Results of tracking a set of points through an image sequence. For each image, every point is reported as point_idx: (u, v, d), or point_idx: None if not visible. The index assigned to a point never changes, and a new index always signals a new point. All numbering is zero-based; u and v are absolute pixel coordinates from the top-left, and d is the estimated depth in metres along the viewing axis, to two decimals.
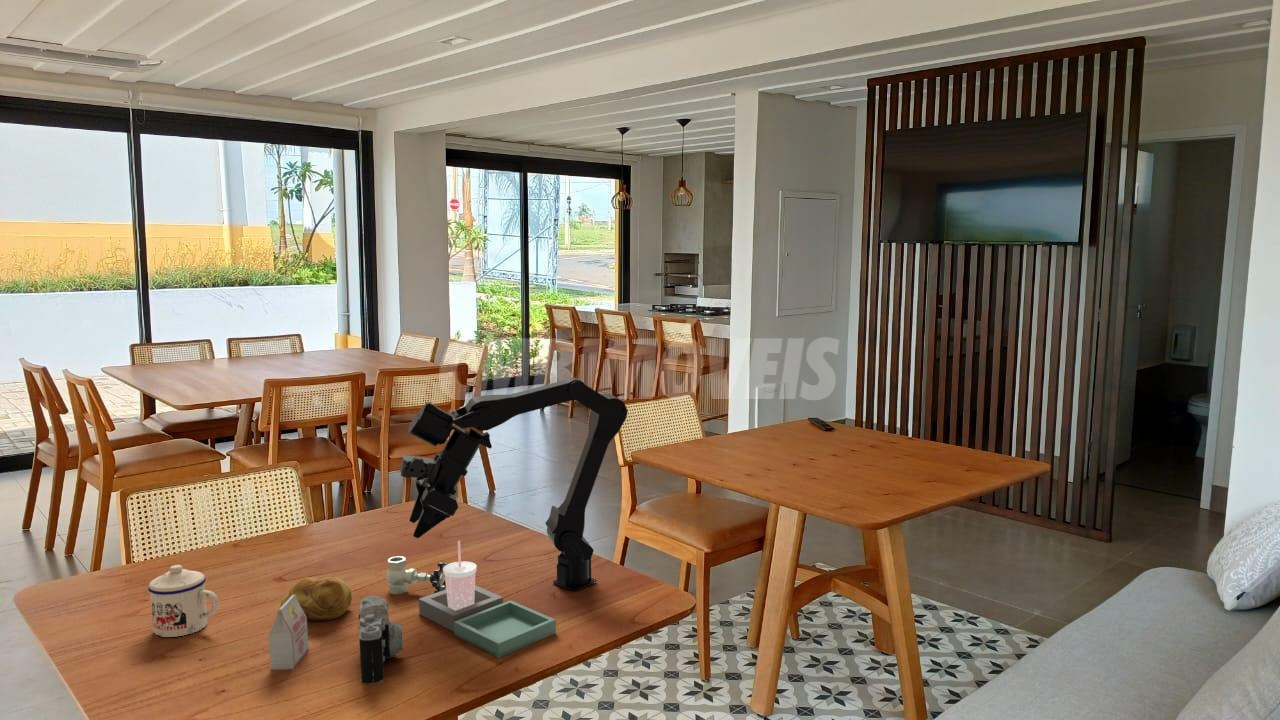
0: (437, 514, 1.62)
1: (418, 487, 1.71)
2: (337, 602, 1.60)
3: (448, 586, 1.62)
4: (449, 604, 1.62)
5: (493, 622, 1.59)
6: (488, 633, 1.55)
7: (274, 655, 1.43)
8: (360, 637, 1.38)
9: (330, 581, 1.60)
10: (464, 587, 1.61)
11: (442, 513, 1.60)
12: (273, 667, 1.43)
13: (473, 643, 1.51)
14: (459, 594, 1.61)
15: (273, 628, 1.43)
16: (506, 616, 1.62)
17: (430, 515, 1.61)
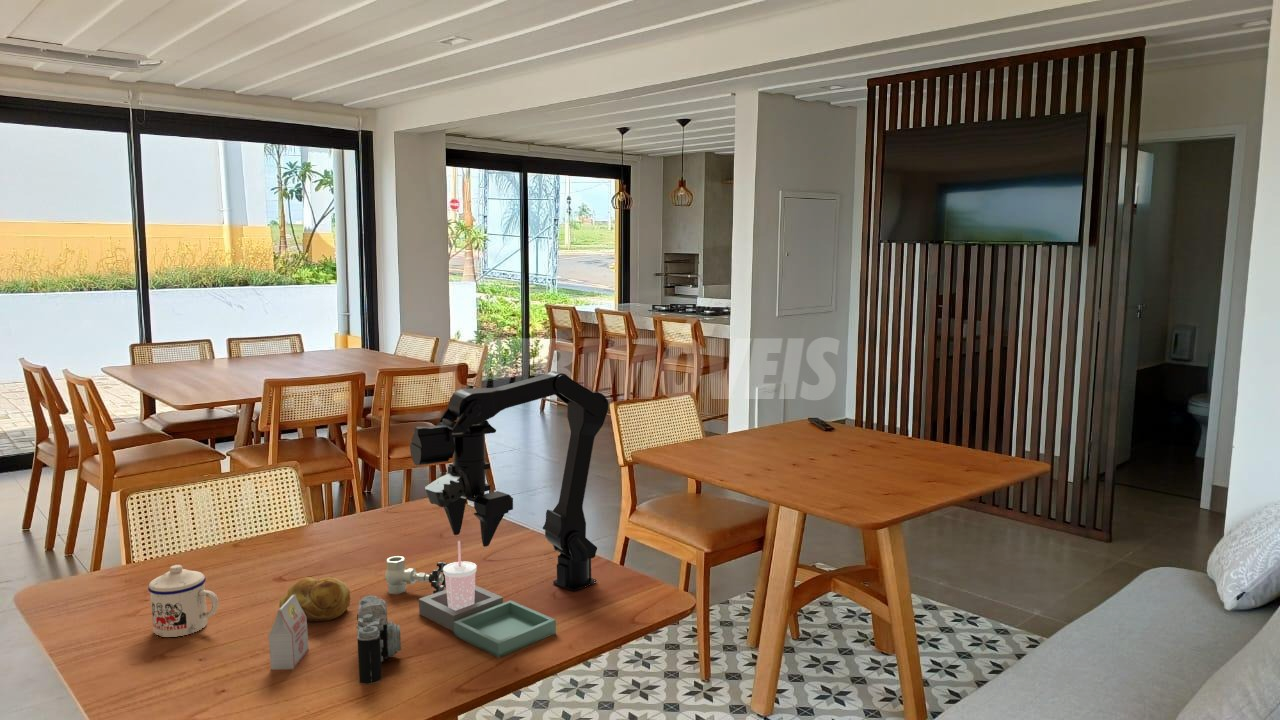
0: (495, 515, 1.61)
1: None
2: (335, 602, 1.60)
3: (448, 586, 1.62)
4: (449, 604, 1.62)
5: (493, 622, 1.59)
6: (488, 633, 1.55)
7: (274, 655, 1.43)
8: (358, 637, 1.38)
9: (328, 581, 1.60)
10: (464, 587, 1.61)
11: (502, 512, 1.59)
12: (273, 667, 1.43)
13: (473, 643, 1.51)
14: (459, 594, 1.61)
15: (273, 628, 1.43)
16: (506, 616, 1.62)
17: (490, 520, 1.60)
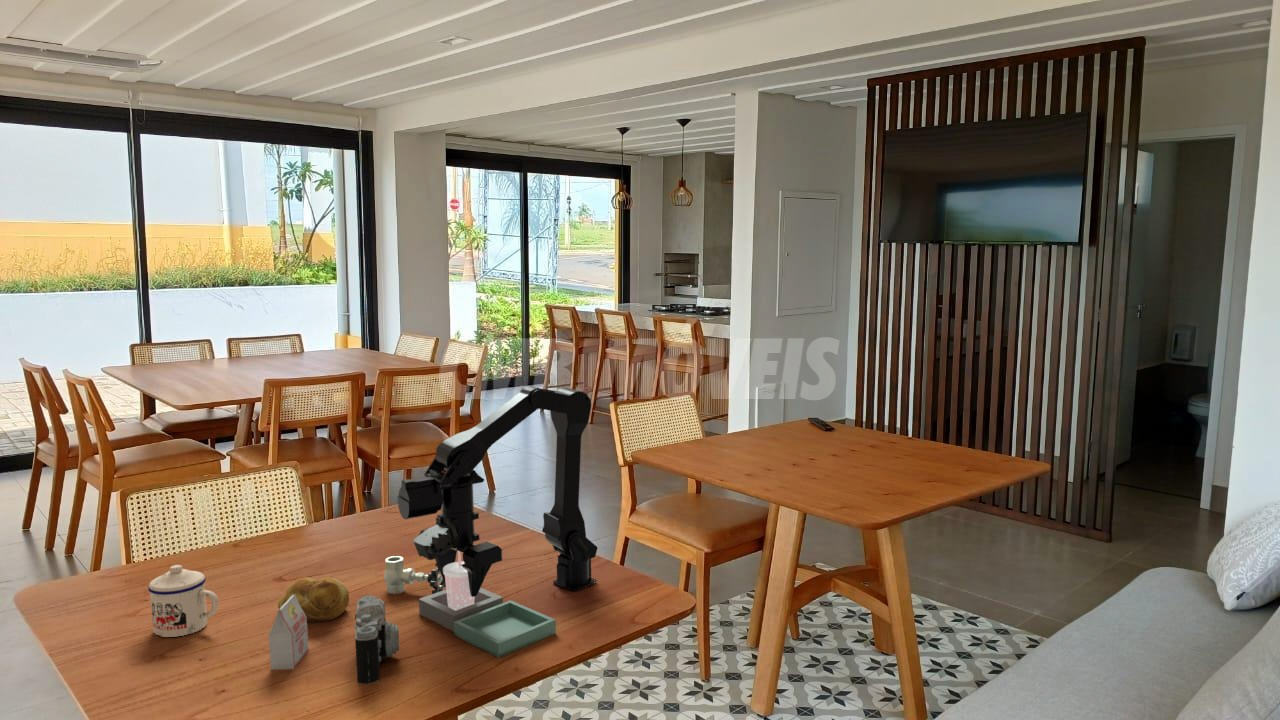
0: None
1: None
2: (333, 603, 1.60)
3: (448, 586, 1.62)
4: (449, 604, 1.62)
5: (493, 622, 1.59)
6: (488, 633, 1.55)
7: (274, 655, 1.43)
8: (356, 637, 1.38)
9: (326, 582, 1.60)
10: (464, 587, 1.61)
11: None
12: (273, 667, 1.43)
13: (473, 643, 1.51)
14: (459, 594, 1.61)
15: (273, 628, 1.43)
16: (506, 616, 1.62)
17: (477, 571, 1.60)
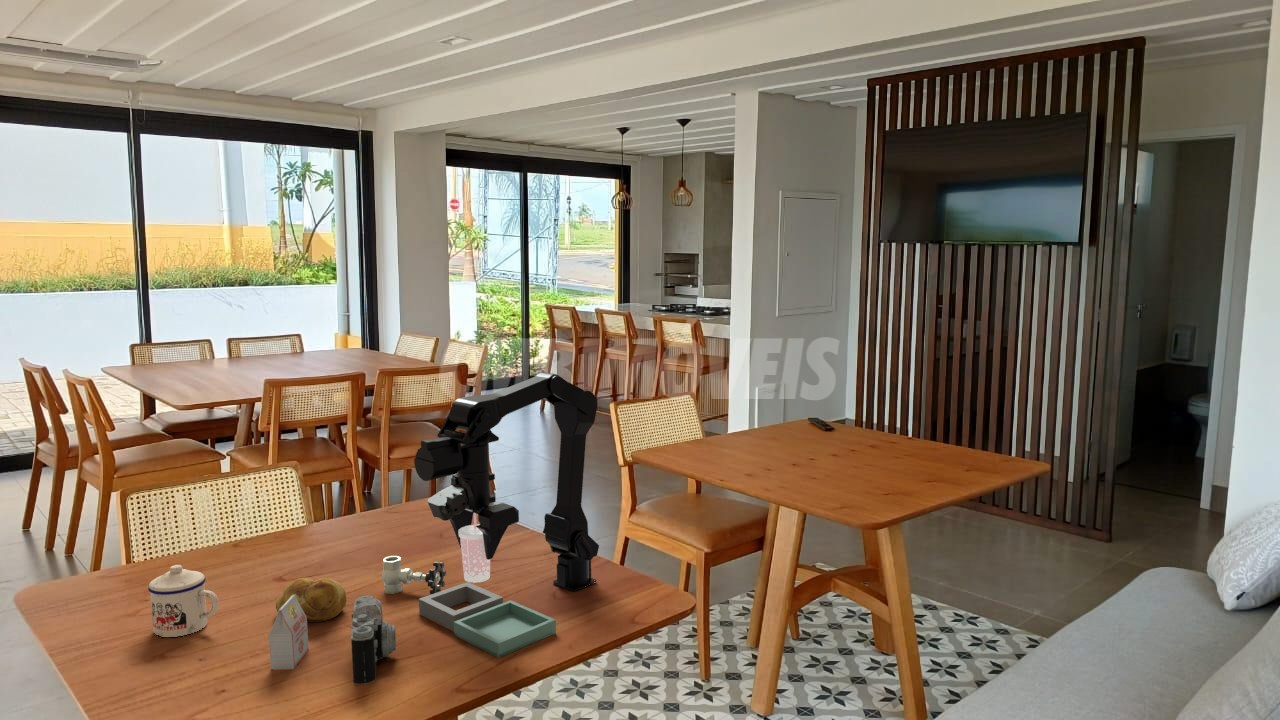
0: (498, 527, 1.55)
1: None
2: (329, 604, 1.59)
3: (465, 549, 1.57)
4: (466, 568, 1.57)
5: (493, 622, 1.59)
6: (488, 633, 1.55)
7: (274, 655, 1.43)
8: (352, 637, 1.38)
9: (323, 582, 1.60)
10: (482, 549, 1.57)
11: None
12: (273, 667, 1.43)
13: (473, 643, 1.51)
14: (477, 557, 1.56)
15: (273, 628, 1.43)
16: (506, 616, 1.62)
17: (493, 533, 1.55)
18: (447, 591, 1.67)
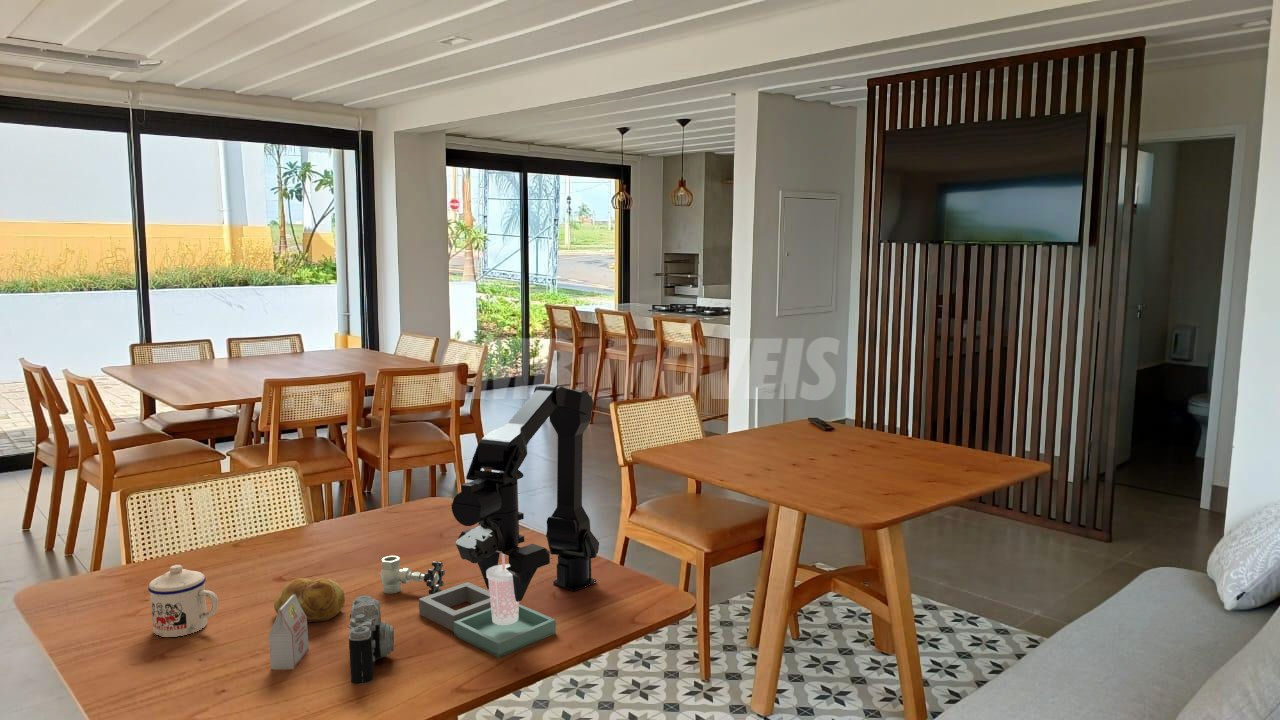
0: None
1: None
2: (327, 604, 1.59)
3: (493, 591, 1.52)
4: (494, 610, 1.53)
5: None
6: (488, 633, 1.55)
7: (274, 655, 1.43)
8: (349, 637, 1.38)
9: (320, 583, 1.59)
10: (511, 591, 1.52)
11: None
12: (273, 667, 1.43)
13: (473, 643, 1.51)
14: (506, 599, 1.52)
15: (273, 628, 1.43)
16: None
17: (523, 574, 1.51)
18: (447, 591, 1.67)
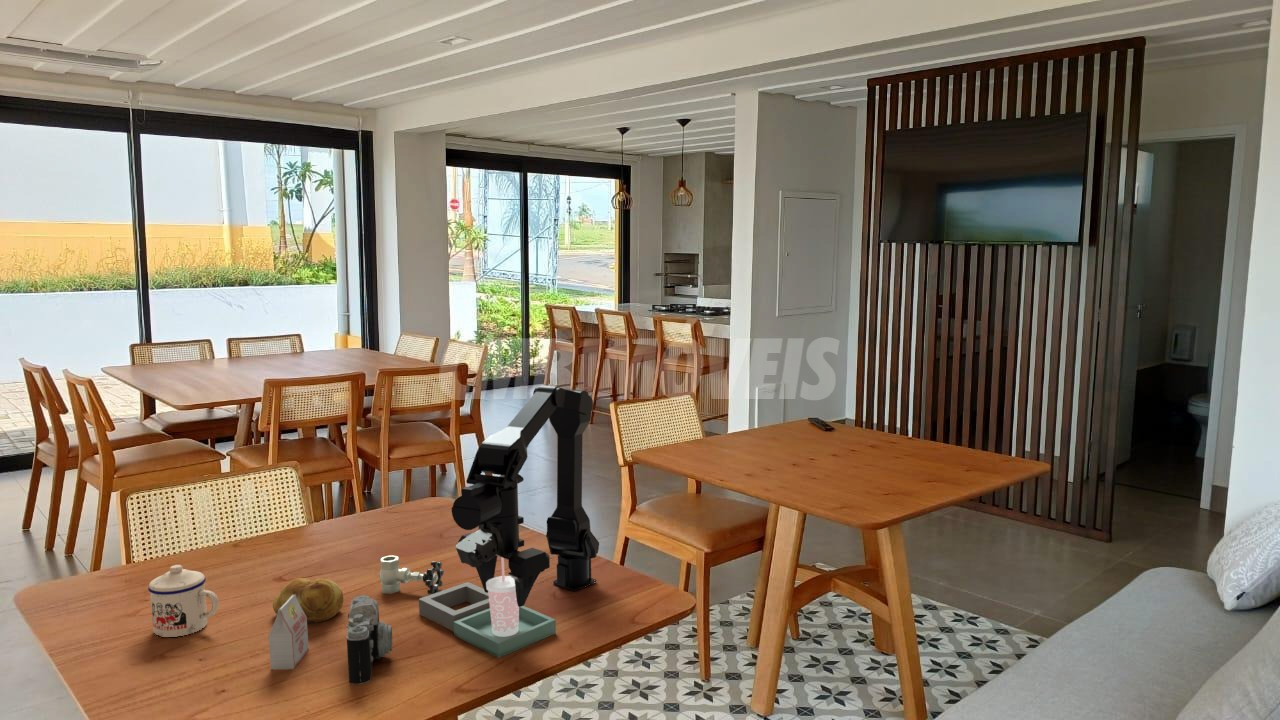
0: None
1: None
2: (325, 604, 1.59)
3: None
4: None
5: None
6: (488, 633, 1.55)
7: (274, 655, 1.43)
8: (347, 637, 1.38)
9: (319, 583, 1.59)
10: None
11: (538, 571, 1.49)
12: (273, 667, 1.43)
13: (473, 643, 1.51)
14: None
15: (273, 628, 1.43)
16: None
17: (525, 579, 1.50)
18: (447, 591, 1.67)
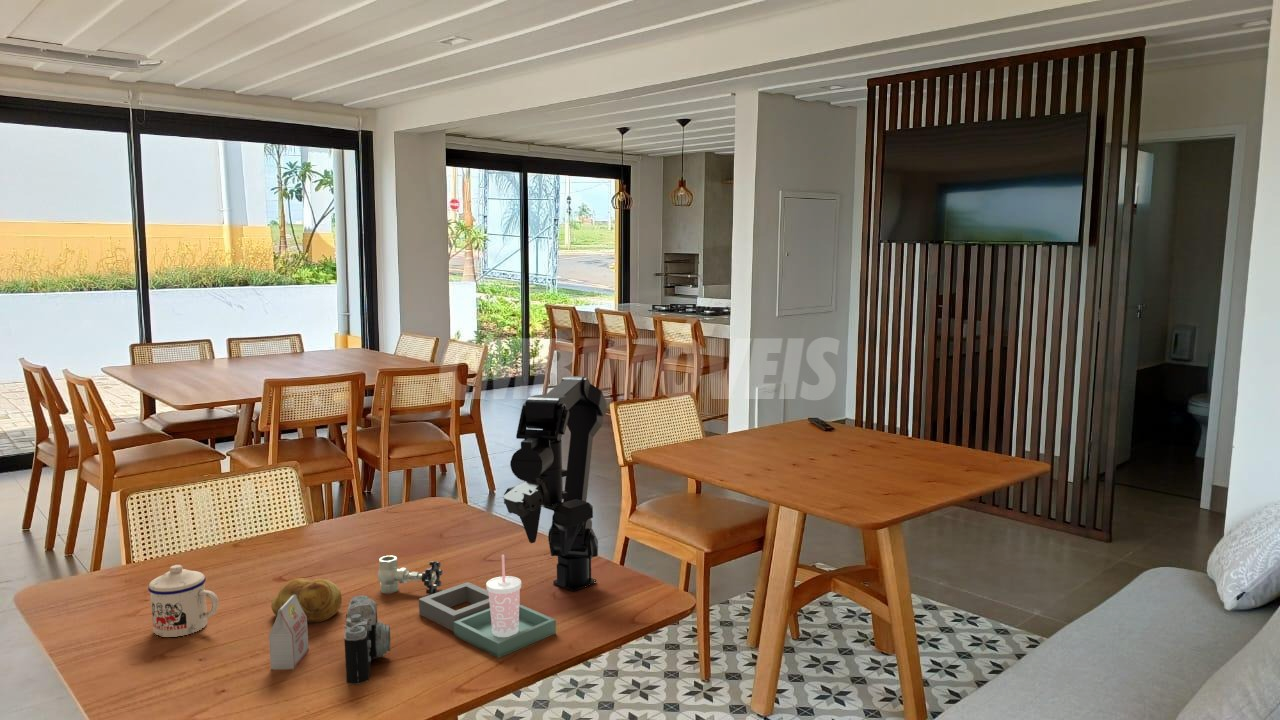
0: (574, 524, 1.57)
1: None
2: (323, 605, 1.59)
3: None
4: None
5: None
6: (488, 633, 1.55)
7: (274, 655, 1.43)
8: (345, 637, 1.38)
9: (316, 584, 1.59)
10: None
11: (582, 521, 1.56)
12: (273, 667, 1.43)
13: (473, 643, 1.51)
14: None
15: (273, 628, 1.43)
16: None
17: (569, 529, 1.57)
18: (447, 591, 1.67)
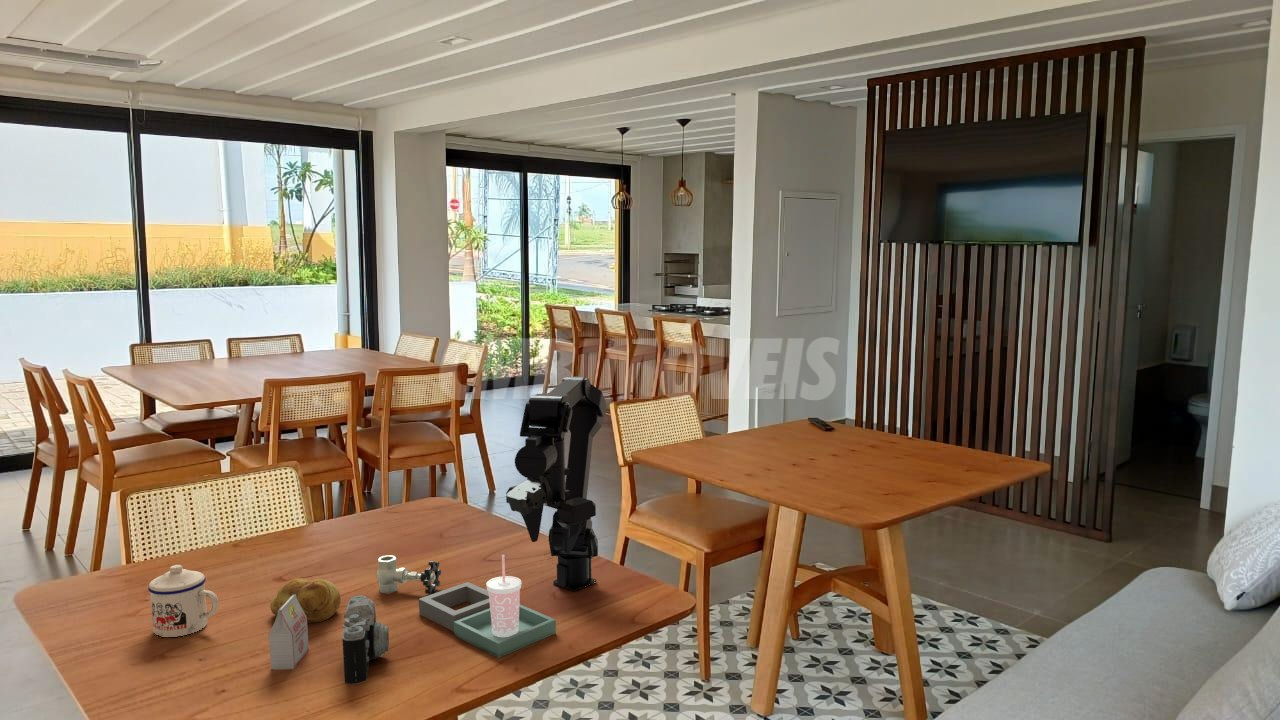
0: (577, 522, 1.58)
1: None
2: (321, 605, 1.59)
3: None
4: None
5: None
6: (488, 633, 1.55)
7: (274, 655, 1.43)
8: (343, 637, 1.38)
9: (315, 584, 1.59)
10: None
11: (585, 519, 1.56)
12: (273, 667, 1.43)
13: (473, 643, 1.51)
14: None
15: (273, 628, 1.43)
16: None
17: (572, 527, 1.57)
18: (447, 591, 1.67)
